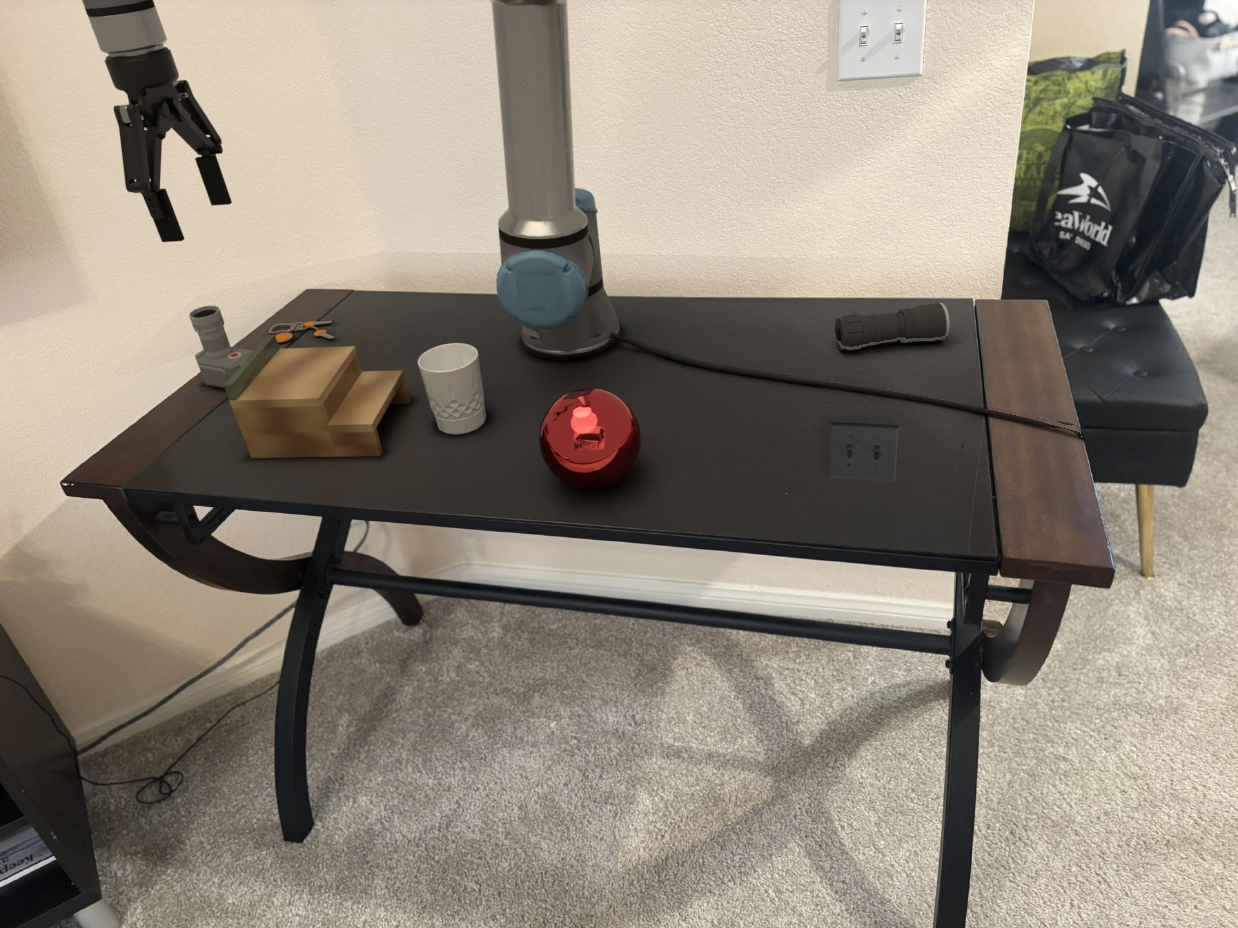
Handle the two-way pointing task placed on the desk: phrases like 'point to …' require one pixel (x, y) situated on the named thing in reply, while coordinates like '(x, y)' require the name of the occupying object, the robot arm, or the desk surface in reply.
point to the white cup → (454, 387)
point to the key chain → (287, 336)
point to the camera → (215, 347)
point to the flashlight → (893, 325)
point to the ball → (590, 438)
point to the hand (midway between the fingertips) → (198, 222)
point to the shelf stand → (311, 402)
